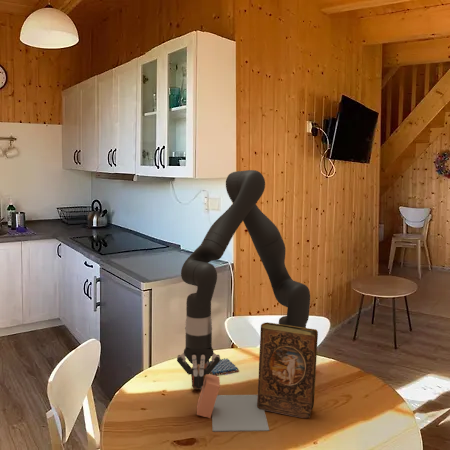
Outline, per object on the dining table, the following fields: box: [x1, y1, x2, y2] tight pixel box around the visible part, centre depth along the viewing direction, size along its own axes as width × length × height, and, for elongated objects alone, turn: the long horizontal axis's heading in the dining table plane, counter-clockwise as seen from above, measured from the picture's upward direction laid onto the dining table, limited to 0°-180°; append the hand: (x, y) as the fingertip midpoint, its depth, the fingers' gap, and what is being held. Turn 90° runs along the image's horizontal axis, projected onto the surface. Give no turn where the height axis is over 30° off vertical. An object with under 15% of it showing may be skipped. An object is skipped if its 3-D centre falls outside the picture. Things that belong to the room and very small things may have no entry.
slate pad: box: [211, 394, 270, 432], centre depth 142 cm, size 16×20×1 cm
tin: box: [190, 359, 210, 391], centre depth 160 cm, size 15×3×8 cm, turn 168°
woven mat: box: [209, 358, 240, 377], centre depth 171 cm, size 10×11×2 cm
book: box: [257, 322, 319, 419], centre depth 142 cm, size 16×6×25 cm, turn 71°
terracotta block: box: [196, 373, 221, 419], centre depth 141 cm, size 4×6×10 cm, turn 3°
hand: (198, 387), depth 141 cm, fingers closed
